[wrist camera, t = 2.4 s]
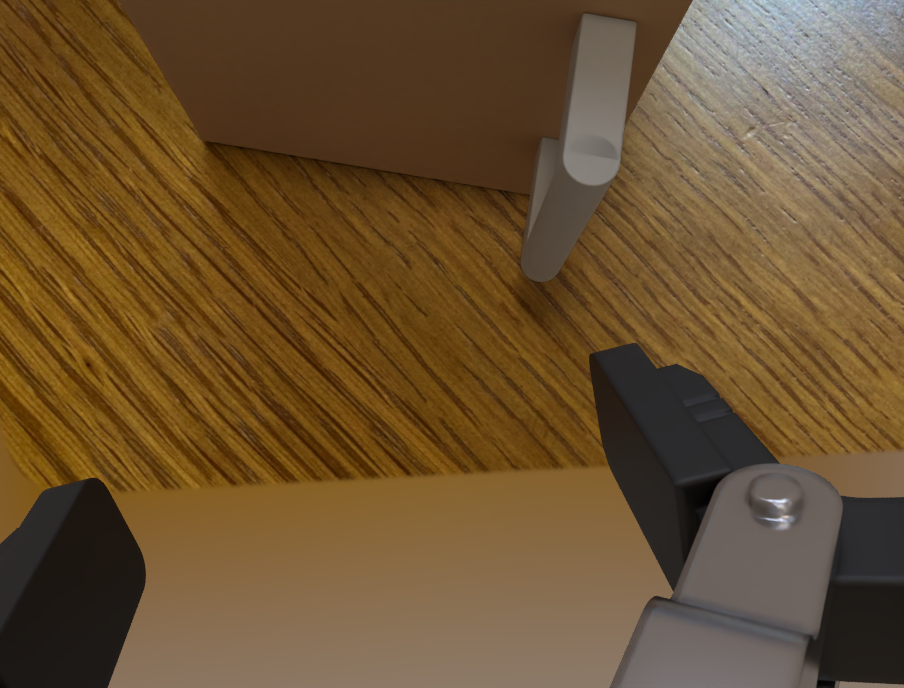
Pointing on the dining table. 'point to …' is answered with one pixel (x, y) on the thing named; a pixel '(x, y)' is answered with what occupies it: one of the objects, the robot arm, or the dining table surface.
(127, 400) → the dining table surface
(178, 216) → the dining table surface
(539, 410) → the dining table surface
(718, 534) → the robot arm
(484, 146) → the cupboard door
